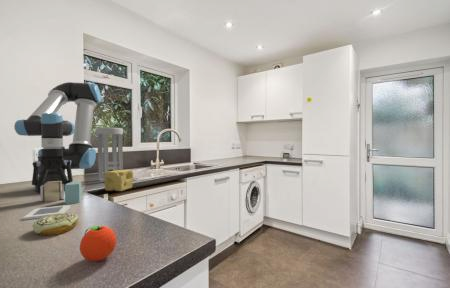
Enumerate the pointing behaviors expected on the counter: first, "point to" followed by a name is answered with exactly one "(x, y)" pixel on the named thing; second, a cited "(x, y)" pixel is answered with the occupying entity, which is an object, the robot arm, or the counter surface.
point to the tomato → (97, 243)
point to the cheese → (118, 180)
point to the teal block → (73, 193)
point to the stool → (104, 162)
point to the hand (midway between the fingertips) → (53, 199)
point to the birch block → (53, 191)
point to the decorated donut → (55, 224)
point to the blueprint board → (46, 212)
